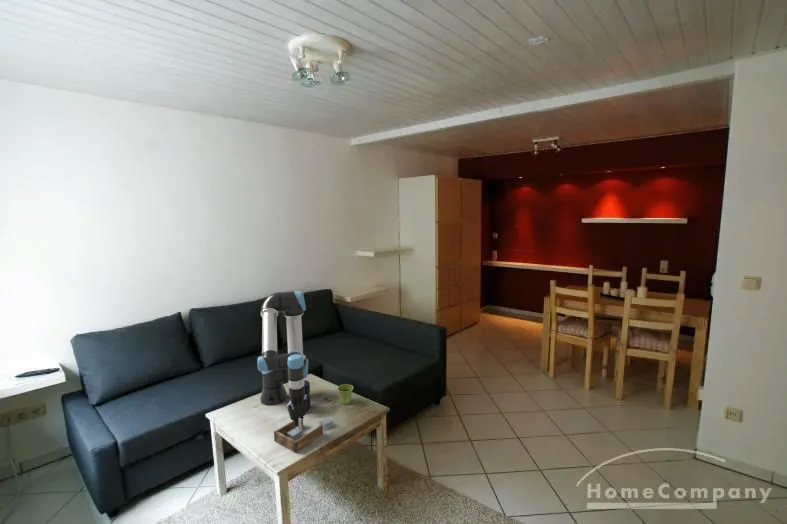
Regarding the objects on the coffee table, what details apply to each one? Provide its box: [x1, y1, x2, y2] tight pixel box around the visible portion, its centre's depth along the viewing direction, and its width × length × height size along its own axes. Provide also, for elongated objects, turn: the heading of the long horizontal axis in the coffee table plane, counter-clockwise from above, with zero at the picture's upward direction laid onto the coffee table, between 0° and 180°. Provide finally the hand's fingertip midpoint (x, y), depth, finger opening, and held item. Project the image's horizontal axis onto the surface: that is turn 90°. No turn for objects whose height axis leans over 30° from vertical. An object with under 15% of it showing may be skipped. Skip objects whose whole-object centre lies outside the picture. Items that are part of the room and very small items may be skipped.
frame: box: [273, 418, 324, 454], centre depth 183 cm, size 16×17×5 cm
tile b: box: [319, 416, 334, 430], centre depth 194 cm, size 5×5×3 cm
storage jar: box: [304, 379, 311, 413], centre depth 210 cm, size 10×10×15 cm
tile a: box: [286, 428, 302, 441], centre depth 184 cm, size 5×5×3 cm
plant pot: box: [336, 383, 354, 405], centre depth 218 cm, size 9×9×9 cm
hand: (298, 431), depth 187 cm, fingers closed
